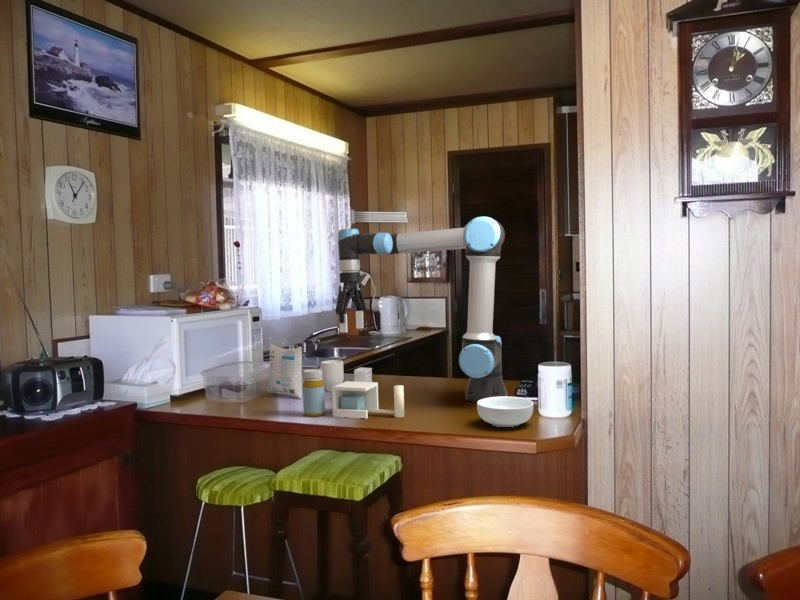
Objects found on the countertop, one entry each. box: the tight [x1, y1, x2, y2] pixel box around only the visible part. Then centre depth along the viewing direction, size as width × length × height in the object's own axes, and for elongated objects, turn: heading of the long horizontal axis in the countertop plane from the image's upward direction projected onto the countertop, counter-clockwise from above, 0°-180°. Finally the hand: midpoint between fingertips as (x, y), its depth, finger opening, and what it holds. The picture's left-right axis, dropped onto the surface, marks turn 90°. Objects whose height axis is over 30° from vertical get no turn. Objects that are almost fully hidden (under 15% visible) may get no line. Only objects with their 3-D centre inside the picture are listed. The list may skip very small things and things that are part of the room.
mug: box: [318, 359, 345, 393], centre depth 255 cm, size 12×9×12 cm
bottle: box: [302, 368, 326, 418], centre depth 213 cm, size 7×7×15 cm
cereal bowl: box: [476, 395, 534, 428], centre depth 193 cm, size 17×17×7 cm
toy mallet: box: [341, 384, 405, 419], centre depth 210 cm, size 21×6×10 cm, turn 70°
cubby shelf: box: [331, 380, 379, 420], centre depth 212 cm, size 12×10×10 cm
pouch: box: [269, 343, 303, 400], centre depth 246 cm, size 8×19×20 cm, turn 44°
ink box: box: [353, 367, 373, 382], centre depth 234 cm, size 9×5×12 cm, turn 168°
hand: (352, 330), depth 231 cm, fingers open, 13 cm apart
